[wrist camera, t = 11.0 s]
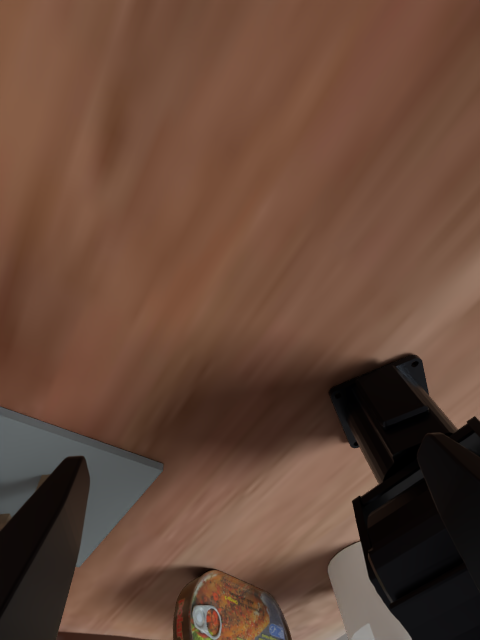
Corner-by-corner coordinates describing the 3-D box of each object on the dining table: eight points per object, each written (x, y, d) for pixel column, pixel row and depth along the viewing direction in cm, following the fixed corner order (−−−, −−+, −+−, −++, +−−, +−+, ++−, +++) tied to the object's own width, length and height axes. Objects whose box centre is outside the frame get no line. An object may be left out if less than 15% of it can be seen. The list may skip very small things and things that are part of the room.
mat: (163, 463, 27) (162, 470, 26) (80, 559, 31) (79, 567, 31) (-45, 390, 21) (-51, 397, 21) (-107, 519, 26) (-113, 528, 25)
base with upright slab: (314, 559, 36) (365, 737, 26) (397, 525, 35) (485, 697, 25) (343, 591, 41) (397, 752, 30) (418, 561, 39) (499, 719, 29)
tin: (286, 599, 40) (308, 706, 33) (264, 611, 41) (281, 718, 34) (192, 556, 33) (194, 678, 26) (168, 571, 34) (163, 694, 27)
